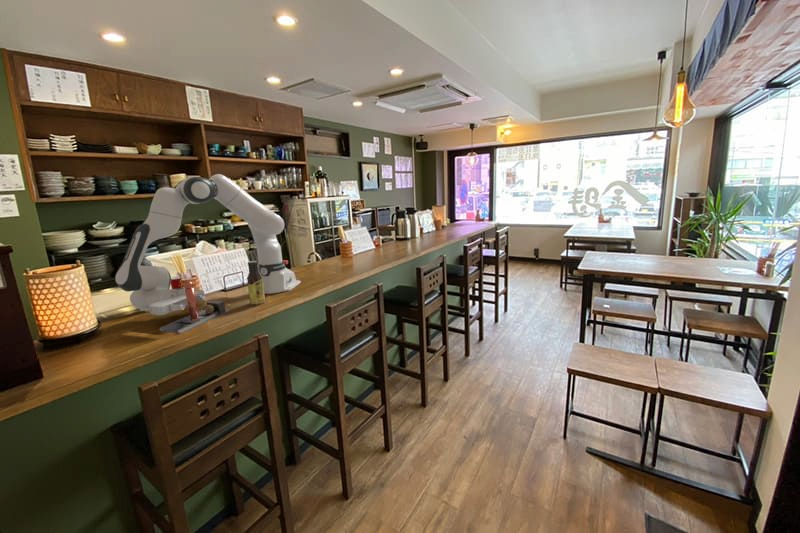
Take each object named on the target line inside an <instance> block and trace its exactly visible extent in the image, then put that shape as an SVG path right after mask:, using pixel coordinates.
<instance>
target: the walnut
mask: <svg viewBox="0 0 800 533" xmlns="http://www.w3.org/2000/svg"><path fill="white" fill-rule="evenodd" d="M202 310H205V312H206V314H208V315H210V314H211V313H213V312H214V307H213V306H212V305H207V304H206V305H204V307H203V309H202Z"/></svg>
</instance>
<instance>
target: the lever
mask: <svg viewBox="0 0 800 533" xmlns="http://www.w3.org/2000/svg"><path fill="white" fill-rule="evenodd" d="M194 286H195V284H194V283H193V281H189V280H188V281H186V282H185V284H184V288H185V292H186V297H187V302H188V306H187V307H188V312H189V315H190V316H189V315H188V316H189V317H187V318H184V317H183V318H184V319H182V318H181V319H182V322H185V323H194V322H196V321H198V320H201V319H203V318H205V317H203V315H205V314H206V312H205V310H203V309H200V310H199V307H198V302H197V301H196V296H195V291H194V289H195V287H194Z"/></svg>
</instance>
